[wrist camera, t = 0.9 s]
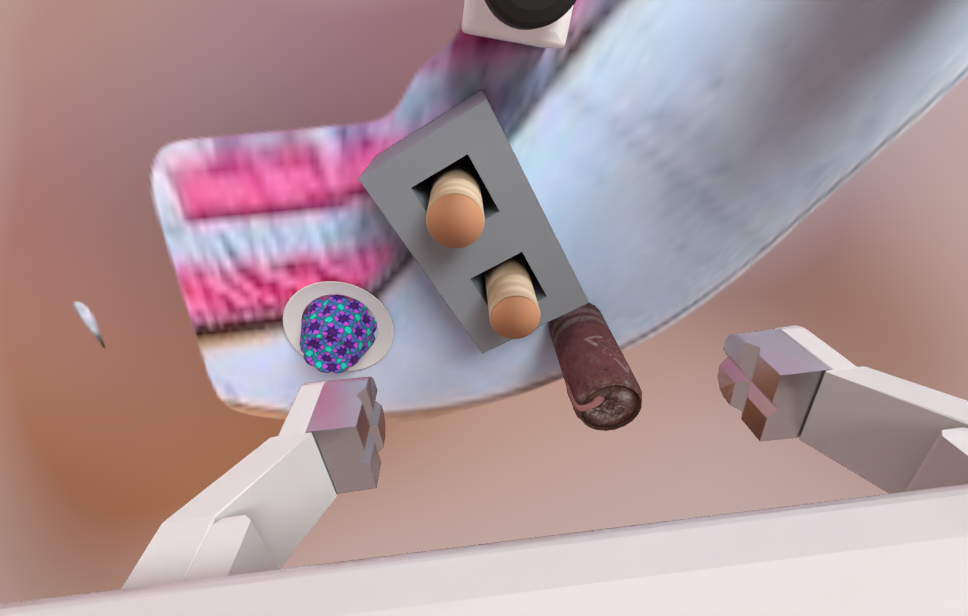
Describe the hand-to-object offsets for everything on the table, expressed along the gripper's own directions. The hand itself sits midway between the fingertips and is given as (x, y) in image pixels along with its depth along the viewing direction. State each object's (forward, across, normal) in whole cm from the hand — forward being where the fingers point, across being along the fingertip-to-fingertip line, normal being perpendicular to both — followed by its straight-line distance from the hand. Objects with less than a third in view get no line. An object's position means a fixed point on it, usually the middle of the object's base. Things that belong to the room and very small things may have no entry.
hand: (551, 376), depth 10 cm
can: (+34, -9, +21) cm, 41 cm away
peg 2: (+28, -2, +11) cm, 30 cm away
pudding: (+35, +17, +18) cm, 43 cm away
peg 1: (+28, +2, +3) cm, 28 cm away
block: (+34, 0, +7) cm, 34 cm away
